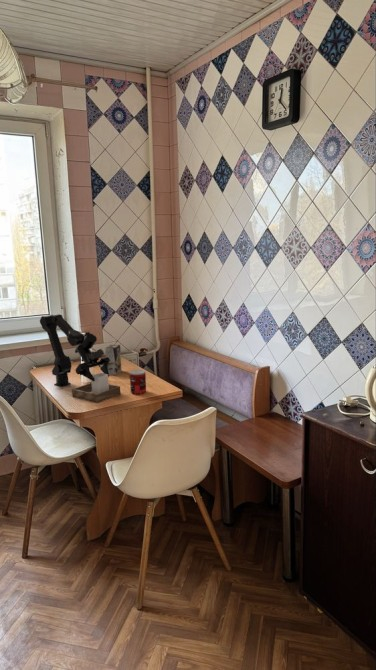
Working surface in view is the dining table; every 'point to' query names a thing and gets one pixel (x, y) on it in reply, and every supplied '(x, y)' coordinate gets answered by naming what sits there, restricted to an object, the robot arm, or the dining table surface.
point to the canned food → (138, 382)
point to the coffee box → (114, 359)
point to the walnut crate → (86, 394)
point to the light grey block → (100, 383)
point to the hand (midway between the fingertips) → (101, 378)
